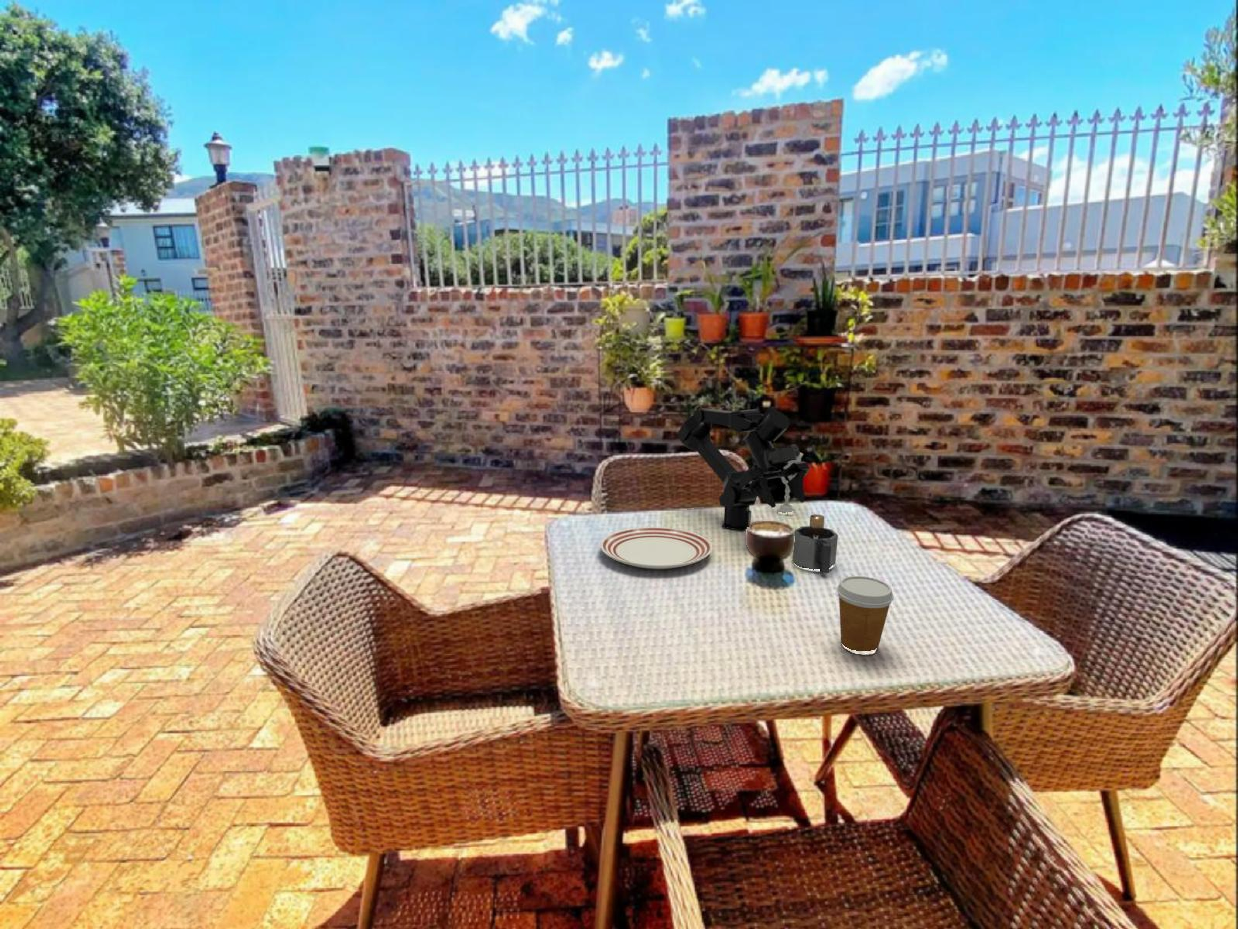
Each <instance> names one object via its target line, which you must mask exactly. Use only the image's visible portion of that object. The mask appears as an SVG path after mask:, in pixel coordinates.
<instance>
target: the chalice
mask: <svg viewBox="0 0 1238 929" xmlns="http://www.w3.org/2000/svg"><path fill="white" fill-rule="evenodd" d="M803 456H804V453H802V452H800V455H799V456H797V457H796V460H791V461H788V465H787V466H784V467H783V468H784V469H787V468H788V467H789V466H790V465H791V464H792V463H796V462H802V457H803ZM780 479H781V482H782V484H784V485H785V490H784V492H785V494H784V497H783V498H784V500H785V501H784V502H783V503H782V504H783V505H782V504H781V505H779V508H778V510H777V511H778V512H782V513H786V512H787V513H788V512H792V511H793V510H794V507H793V506H792V504H790V502H789V500H790V498H791V496H790V493H791V489H790V487H789V486H788V485H787V483H788V481H787V480H785V478H784V477H780Z"/></svg>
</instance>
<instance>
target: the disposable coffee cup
mask: <svg viewBox="0 0 1238 929" xmlns="http://www.w3.org/2000/svg"><path fill="white" fill-rule="evenodd" d="M836 592H837V595H838V600H839V601H838V603H839V606H838V607H839V624H840V627H839V628H840V631H839V632H840V644H841V643H842V644H843V645H844V646H845V647H847V648H849V649H851V650H856V651H871V650H875V649H876V648H878V649H879V646H880V643H881V640H882V635H883V632H884V628H885V623H886V620H887V617H888V612H889V609H890V606H891V604H892V602H893V601H894V598H895V596H894V594H893V590H892V586H890V585H889V584H888V583H887V582H885V581H883V580H881V579H878V578H874V577H870V576H865V575H852V576H845V577H843V578H842V579H840V582H839V584H838V585H837V586H836Z"/></svg>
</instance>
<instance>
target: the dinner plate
mask: <svg viewBox="0 0 1238 929" xmlns="http://www.w3.org/2000/svg"><path fill="white" fill-rule="evenodd" d="M599 546H600V550H601V551H602V552H603V554H605V555H606V556H607V557H609V558H610V559H612V560H614V561H617V562H619V563H622V564H625V565H629V566H632V567H636V568H641V569H647V570H668V569H675V568H681V567H686V566H689V565H692V564H695V563H698V562H700V561H702V560H703V559H705V558H707V557H708V556H709V555H710V554H711V553H712V551H713V544H712V542H710V540H709V539H708V538H705V537H704V536H702V535H700V534H698V533H695V532H692V531H689V530H685V529H680V528H672V527H663V526H645V527H643V526H642V527H632V528H628V529H627V528H626V529H621V530H618V531H614V532H611V533H610V534H608V535H606V536H605V537H604V538H602V540H601V541H600V545H599Z"/></svg>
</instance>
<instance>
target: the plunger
mask: <svg viewBox="0 0 1238 929" xmlns="http://www.w3.org/2000/svg"><path fill="white" fill-rule="evenodd" d="M825 519H826V518H825V516H824V515H821V514H817V513H816V514H815V513H814V514H811V515H810V516H809V525H808V526H809V533H810V534H813V535H814V537H813V538H814V539H818V535H822V534H823V530H824V528H825Z"/></svg>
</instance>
